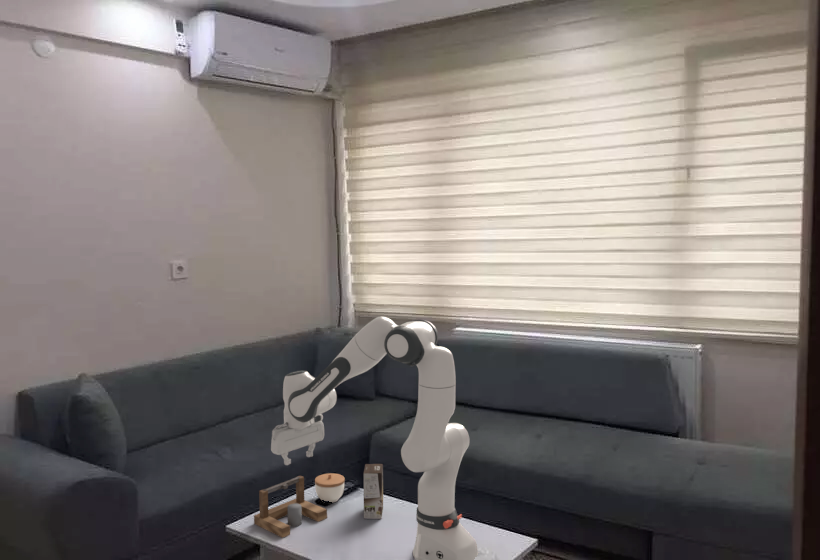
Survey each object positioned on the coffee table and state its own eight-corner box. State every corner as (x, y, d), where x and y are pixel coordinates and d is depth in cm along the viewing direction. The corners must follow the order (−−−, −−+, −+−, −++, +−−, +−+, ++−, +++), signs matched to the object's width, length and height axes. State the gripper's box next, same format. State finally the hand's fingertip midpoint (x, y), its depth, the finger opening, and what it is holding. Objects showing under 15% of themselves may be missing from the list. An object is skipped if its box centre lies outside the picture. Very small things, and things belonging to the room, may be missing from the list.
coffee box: (382, 519, 233) (381, 473, 231) (363, 519, 233) (362, 473, 231) (383, 507, 242) (383, 463, 240) (365, 507, 242) (365, 463, 241)
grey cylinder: (304, 523, 230) (304, 506, 229) (293, 528, 226) (293, 510, 226) (295, 519, 233) (295, 502, 232) (284, 524, 229) (284, 506, 229)
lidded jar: (328, 508, 241) (327, 482, 241) (309, 499, 249) (308, 474, 248) (351, 499, 249) (350, 474, 248) (331, 491, 257) (331, 466, 256)
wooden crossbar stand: (327, 517, 234) (326, 483, 233) (282, 537, 220) (282, 501, 218) (298, 505, 244) (297, 472, 242) (254, 524, 229) (253, 489, 228)
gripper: (278, 428, 217) (280, 471, 218) (326, 414, 232) (327, 454, 233) (266, 425, 221) (267, 467, 222) (314, 411, 236) (315, 450, 237)
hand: (298, 460), depth 228 cm, fingers open, 8 cm apart
